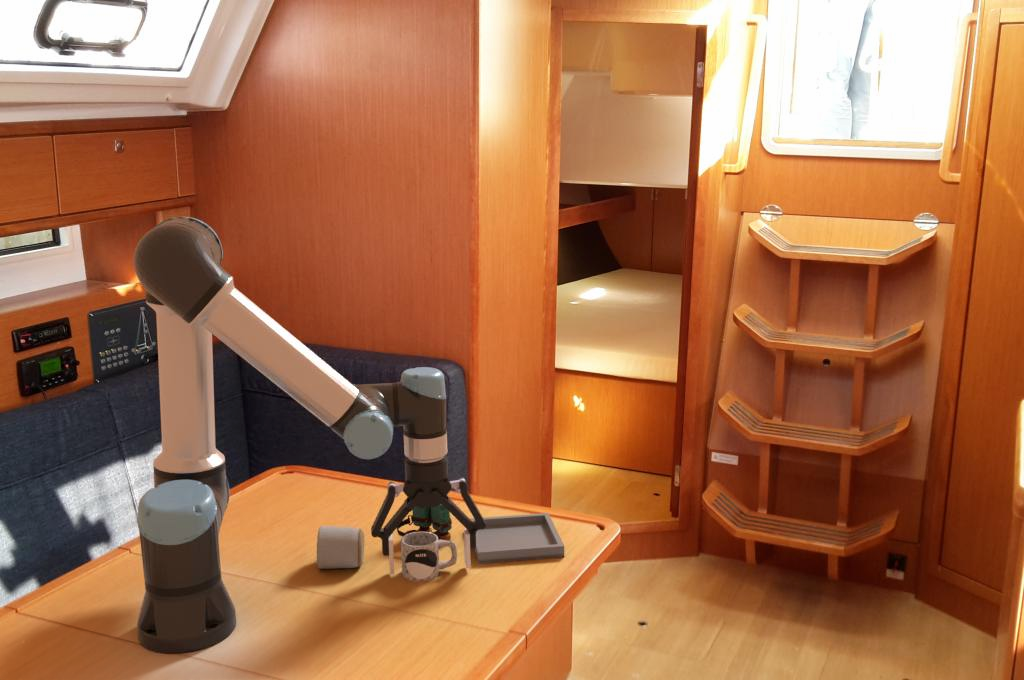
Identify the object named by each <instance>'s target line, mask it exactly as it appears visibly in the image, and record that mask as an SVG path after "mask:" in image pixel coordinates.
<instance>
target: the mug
mask: <svg viewBox="0 0 1024 680" xmlns="http://www.w3.org/2000/svg"><path fill="white" fill-rule="evenodd" d="M445 547H449V548H450V551H451V557H450V560H448V561H447V560H440V559H439V558H440V555H439V549H440V548H445ZM400 551H401V553H400V554H401V575H402V578H403V579H404V580H407V581H410V582H412V583H413V582H415V583H424V582H429V581H432V580H434V579H436V578H437V577H439V575H440V570H445V569H446V568H449V567H452V566H454V565H456V563H457V559H458V548H457V544H456V542H455V541H453V540H438V537H437V535H435V534H433V533H430V532H413V533H409V534H406V535H405V536H403V537H402V536H401V538H400Z"/></svg>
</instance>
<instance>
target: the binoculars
mask: <svg viewBox="0 0 1024 680" xmlns="http://www.w3.org/2000/svg"><path fill="white" fill-rule="evenodd" d="M411 513H412V514H408V515H407V518H404V520H403V521H402V522H401V523H400V524H399V526H398V527H397V528H396V532H397V534H398V536H400V537H401V538H402V537H403V536H405V535H406V534H409V533H413V532H430V533H433V534H435V535H437V537H438V540H447V541H451V539H452V536H451V532H450V531H451V530H452V528H453V527H452V524H453V521H452V518H451V514H450V512H449V511H448V510H447V509H446V508H445V507H444V506H443V505H442V504H440V505H438V506H437V507H425V508H419V507H417V506H415V507H414V509H413V510H412V511H411ZM412 524H413V526H416V527H419V528H418V529H411V530H407V531H405V532H404V531H401V530H400V529H401V528H402V527H403V526H405V525H408V526H411V525H412ZM431 526H432V527H431ZM432 529H433V530H434V531H432Z"/></svg>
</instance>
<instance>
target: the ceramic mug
mask: <svg viewBox="0 0 1024 680" xmlns="http://www.w3.org/2000/svg"><path fill="white" fill-rule="evenodd" d="M316 541H317V542H316V564H317V565H316V566H317V568H318V569H319V570H322V569H323V570H325V569H326V570H327V569H329V570H330V569H332V570H333V569H354V568H360V567H361V566H362V565H363V563H364V558H365V532H364V530H363V529H362V528H358V527H353V526H333V525H320V526H319V527H318V531H317V539H316Z"/></svg>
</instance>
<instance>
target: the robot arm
mask: <svg viewBox="0 0 1024 680" xmlns="http://www.w3.org/2000/svg"><path fill="white" fill-rule="evenodd" d="M223 253H224V251H223V246H222V243H221V239H220V238H219V236H218V235H217V233H216V232H215V230H214V229H213V228H212V227H211V226H210V225H209V224H208V223H205V221H203V220H200V219H198V218H194V217H190V216H178V217H177V216H176V217H173V216H172V217H170V218H167V219H164V220H162V221H161V222H159V223H157V224H156V225H155V226H154V227H153V228H152V229H150V230H149V231H147V232H146V233H145V234H143V236H142V238H140V240H139V241H138V243H137V245H136V247H135V249H134V253H133V254H134V255H133V267H134V268H133V269H134V272H135V274H136V276H137V279H138V281H139V283H140V284H141V286H142V287H143V288H144V290H145V303H146V304H147V305H148V307H150V308H151V309H152V310H153V311H154V312H155V314H156V336H157V338H156V340H157V355H158V357H157V359H158V379H159V380H158V381H159V382H158V383H159V384H158V385H159V402H160V403H159V404H160V407H159V408H160V429H161V430H160V431H161V432H160V433H161V452H160V453H159V455H157V456H156V458H154V460H153V463H152V466H153V487H154V488H153V487H152V488H150V489H149V490H147V491H146V492H145V493H143V494H142V497H141V498H140V499H139V501H138V503H137V504H138V505H137V515H136V522H137V528H138V532H139V539H140V542H139V543H140V551H141V558H142V559H141V561H142V569H143V579H144V590H145V592H144V595H143V600H142V604H141V607H140V611H139V616H138V621H137V625H136V626H137V627H136V628H137V638H138V641H139V643H140V644H141V646H142V647H144V648H146V649H147V650H150V651H154V652H156V653H157V652H158V653H163V654H166V653H167V654H180V653H188V652H193V651H198V650H202V649H204V648H207V647H211V646H213V645H215V644H217V643H219V642H221V641H223V640H225V639H226V638H227V637H229V636H230V635H231V634H232V633H233V631H235V628H236V627H237V614H236V613H237V612H236V608H235V605H234V603H233V601H232V598H231V596H230V593H229V592H228V589H227V587H226V586H225V585H226V584H225V583H224V581H223V578H222V569H221V556H220V555H221V553H220V544H219V543H220V541H219V539H220V538H219V534H220V532H221V531H220V530H221V526H222V524H223V523H222V522H223V519H224V516H225V513H226V510H227V509H228V505H229V503H230V495H231V494H230V493H231V492H230V491H231V490H230V485H229V481H228V478H227V474H226V473H227V472H226V457H225V455H224V453H222V452H221V451H219V449H217V447H216V423H215V422H216V421H215V420H216V419H215V394H214V393H215V391H214V389H215V388H214V387H215V385H214V361H213V360H214V355H213V336H215V337H216V338H217V339H219V341H221V342H222V343H224V345H226V346H227V347H228V348H230V349H231V350H232V351H233V352H235V353H236V354H237V355H238V356H239V357H240V358H242V359H243V360H244V361H246V362H247V363H248V364H249V365H251V366H252V367H253V368H255V369H256V370H257V371H258V372H260V373H261V374H262V375H263V376H265V377H266V378H267V379H268V380H270V382H272V383H273V384H274V385H276V386H277V387H278V388H279V389H281V390H282V391H283V392H284V393H286V394H287V395H289V396H290V397H291V399H293V400H295V401H296V402H297V403H298V404H299V405H301V406H302V407H303V408H305V409H306V410H307V411H308V412H310V413H311V414H312V415H313V416H314V417H316V418H317V419H318V420H320V421H321V422H322V423H324V425H325V426H327V427H328V428H330V429H331V430H332V431H333V432H334V433H335V434H337V435H338V437H340V438H341V439H342V440H343V441H344V442H343V443H344V444H345V445H346V447H347V449H348V450H349V452H350V453H351V454H352V455H353V456H355V457H357V458H359V459H363V460H372V459H378V458H379V457H382V455H384V454H386V452H387V451H388V449H389V448H390V447H391V445H392V441H393V436H394V427H400V426H401V427H403V444H404V445H403V449H404V451H403V452H404V454H403V455H404V456H405V458H404V475H405V476H404V477H405V479H404V483H403V484H398V483H397V484H396V483H395V481H394V482H393V481H390V482H388V484H387V493H386V496H385V498H384V499H383V502H382V504H381V506H380V509H379V511H378V513H377V515H376V517H375V519H374V521H373V522H372V523H373V524H372V525H371V529H370V531H371V533H370V534H371V536H372V537H373V538H380V540H381V551H382V554H383V556H384V557H387V556H388V558H389V559H388V560H389V562H388V563H389V575H395V558H394V557H395V554H394V538H393V537H394V536H393V533H394V532H395V531H396V530H397V527H398V526H399V524H400V523H401V522H402V521H404V520H405V519H406V517H408V515H409V513H412V510H413V509H414V507H415V506H417V507H419V508H425V507H437V506H438V505H440V504H442V505H443V506H444V507H445V508H446V509H447V510H448V511H449V512H450V513H451V514H450V515H453V517H454V518H455V519H456V520H457V521H458V522H459V523H461V525H462V526H463V527H464V528H463V539H464V540H463V543H464V565H465V568H466V569H471V567H472V566H471V550H473V549H474V550H475V548H476V532H477V530H479V529H484V528H485V527H486V524H485V521H484V519H483V518H484V517H483V515H482V513H481V512H480V510H479V508H478V506H477V504H476V503H475V502H474V499H473V498H472V496H471V494H470V493H469V491H468V487H467V482H466V479H465V478H464V477H463V476H460V477H459V478H458V479H457V480H455V479H454V480H450V479H449V459H448V456H447V454H448V432H447V427H448V426H447V394H446V392H447V391H446V382H445V381H446V380H445V374H444V373H443V372H442V370H440V369H437V368H435V367H429V366H421V367H418V366H417V367H415V368H407V369H405V370H403V372H402V373H401V375H400V381H396V382H386V383H385V382H384V383H366V384H364V383H363V384H355V383H352V382H350V381H349V380H348V379H347V378H345V377H344V376H343V375H341V374H340V373H339V372H338V371H337V370H336V369H334V368H333V366H331V365H329V364H328V363H327V362H326V361H325V360H324V359H322V358H321V357H319V356H318V354H316V353H315V352H314V351H313V350H312V349H311V348H309V347H307V346H306V345H305V344H304V343H303V342H302V341H301V340H299V339H298V338H297V337H295V335H293V334H292V333H290V332H289V331H288V330H287V329H286V328H284V327H283V325H281V324H280V323H279V322H277V321H276V320H275V319H274V318H273V317H271V316H270V315H269V314H268V313H266V311H264V310H263V309H262V308H260V307H259V306H258V305H257V304H256V303H254V302H253V301H252V300H251V299H249V297H247V296H246V295H245V294H244V293H242V292H241V291H240V290H238V289H237V288H236V287H235V283H234V277H233V275H231V274H230V273H229V272H227V271H226V270H225V269H224V267H222V266H221V265H222V263H223V262H222V260H223V258H224V257H223V255H224V254H223ZM452 489H454V490H455V492H456V493H459V494H460V495H461V498H462V499H463V502H464V503H465V504H466V507H467V508H468V510H469V512H470V513H471V516H472V518H474V519H475V520H476V521H474V522H472V521H471V520H470V519H471V518H470V517H469V516H468V515H467V514H466V513H465V512H464V511H462V509H461V508H460V507H459V506H458V505H457V504H456V503H455V502H454V501H453V500H452V499H451V497H450V496H449V493H450V492H451V490H452ZM402 492H403V494H405V496H406V498H405V500H404V501H403V503H402V504H401V506H400V507H399V508H398V509H397V510H396V512H395V513H394V514H393V516H392V517H391V518H390V519H389V520H388V522H387V523H386V525H384V524H385V521H386V519H387V517H388V515H389V513H390V511H391V508H392V506H393V505H394V502H395V499H396V498H397V497H399V496H400V494H401V493H402Z"/></svg>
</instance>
